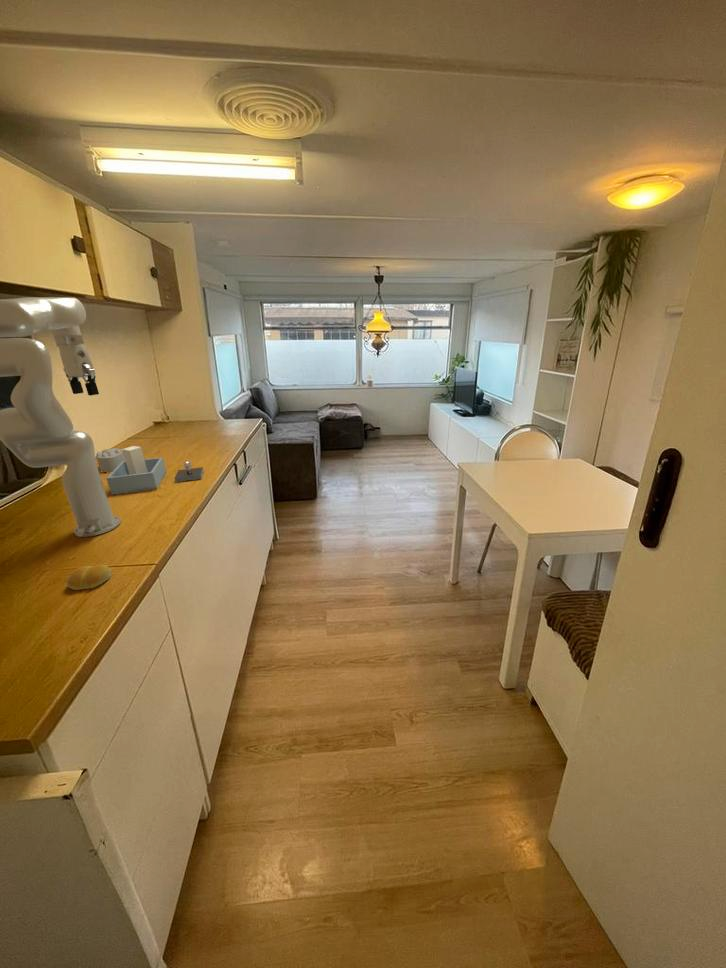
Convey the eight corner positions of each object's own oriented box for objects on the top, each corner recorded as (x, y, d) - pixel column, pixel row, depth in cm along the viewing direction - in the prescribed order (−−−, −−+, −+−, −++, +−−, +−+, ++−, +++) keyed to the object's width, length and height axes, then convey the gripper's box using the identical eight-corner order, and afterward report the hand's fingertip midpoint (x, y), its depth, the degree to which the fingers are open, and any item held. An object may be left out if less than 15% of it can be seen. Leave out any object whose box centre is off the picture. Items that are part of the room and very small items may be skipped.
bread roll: (104, 588, 92) (99, 574, 90) (64, 593, 90) (58, 580, 89) (118, 568, 99) (113, 555, 98) (80, 573, 98) (75, 560, 96)
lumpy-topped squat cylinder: (127, 462, 181) (122, 445, 177) (126, 470, 170) (120, 452, 167) (102, 466, 176) (96, 448, 173) (99, 475, 166) (93, 456, 162)
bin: (157, 489, 148) (152, 472, 145) (111, 495, 144) (106, 478, 141) (166, 472, 166) (162, 457, 163) (126, 477, 162) (121, 461, 159)
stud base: (201, 479, 157) (198, 463, 154) (175, 482, 154) (171, 466, 151) (203, 471, 165) (200, 456, 163) (179, 474, 163) (175, 459, 160)
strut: (149, 479, 156) (141, 447, 150) (139, 483, 152) (129, 450, 146) (142, 477, 158) (133, 445, 152) (131, 481, 154) (122, 449, 148)
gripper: (96, 340, 122) (111, 393, 129) (68, 341, 130) (84, 391, 137) (70, 341, 116) (88, 397, 123) (43, 342, 124) (61, 394, 131)
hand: (86, 394), depth 130 cm, fingers open, 9 cm apart
